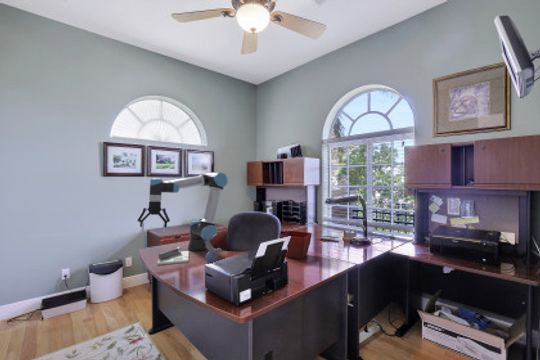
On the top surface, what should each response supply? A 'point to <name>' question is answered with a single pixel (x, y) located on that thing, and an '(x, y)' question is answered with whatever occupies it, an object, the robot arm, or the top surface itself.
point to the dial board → (175, 258)
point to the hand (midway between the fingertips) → (153, 232)
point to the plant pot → (297, 243)
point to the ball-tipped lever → (170, 253)
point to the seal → (211, 251)
